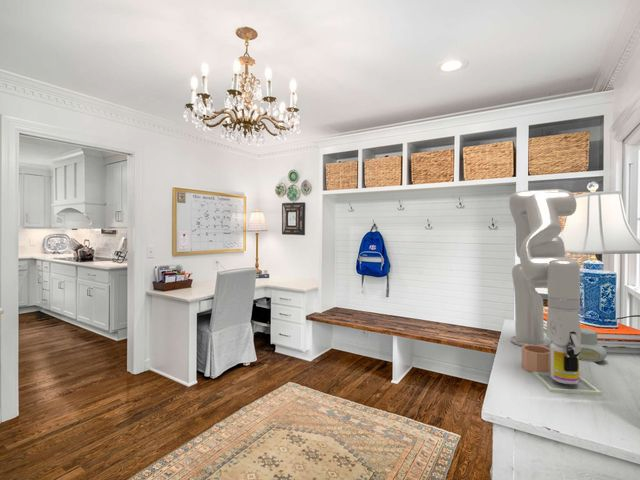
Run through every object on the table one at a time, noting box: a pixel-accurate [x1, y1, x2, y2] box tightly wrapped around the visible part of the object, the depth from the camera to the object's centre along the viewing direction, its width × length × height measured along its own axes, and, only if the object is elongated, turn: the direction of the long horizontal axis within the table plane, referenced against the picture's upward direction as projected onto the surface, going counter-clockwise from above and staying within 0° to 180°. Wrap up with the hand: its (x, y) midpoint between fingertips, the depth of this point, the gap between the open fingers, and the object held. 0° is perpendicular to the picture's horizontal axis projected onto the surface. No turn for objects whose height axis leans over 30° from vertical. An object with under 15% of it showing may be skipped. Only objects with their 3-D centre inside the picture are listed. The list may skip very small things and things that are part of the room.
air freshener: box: [579, 327, 608, 363], centre depth 118 cm, size 11×8×10 cm
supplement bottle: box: [549, 342, 580, 385], centre depth 99 cm, size 7×7×13 cm
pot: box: [521, 345, 551, 373], centre depth 110 cm, size 8×9×7 cm
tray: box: [532, 372, 602, 396], centre depth 98 cm, size 12×12×2 cm
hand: (564, 365), depth 99 cm, fingers closed on supplement bottle, 6 cm apart
